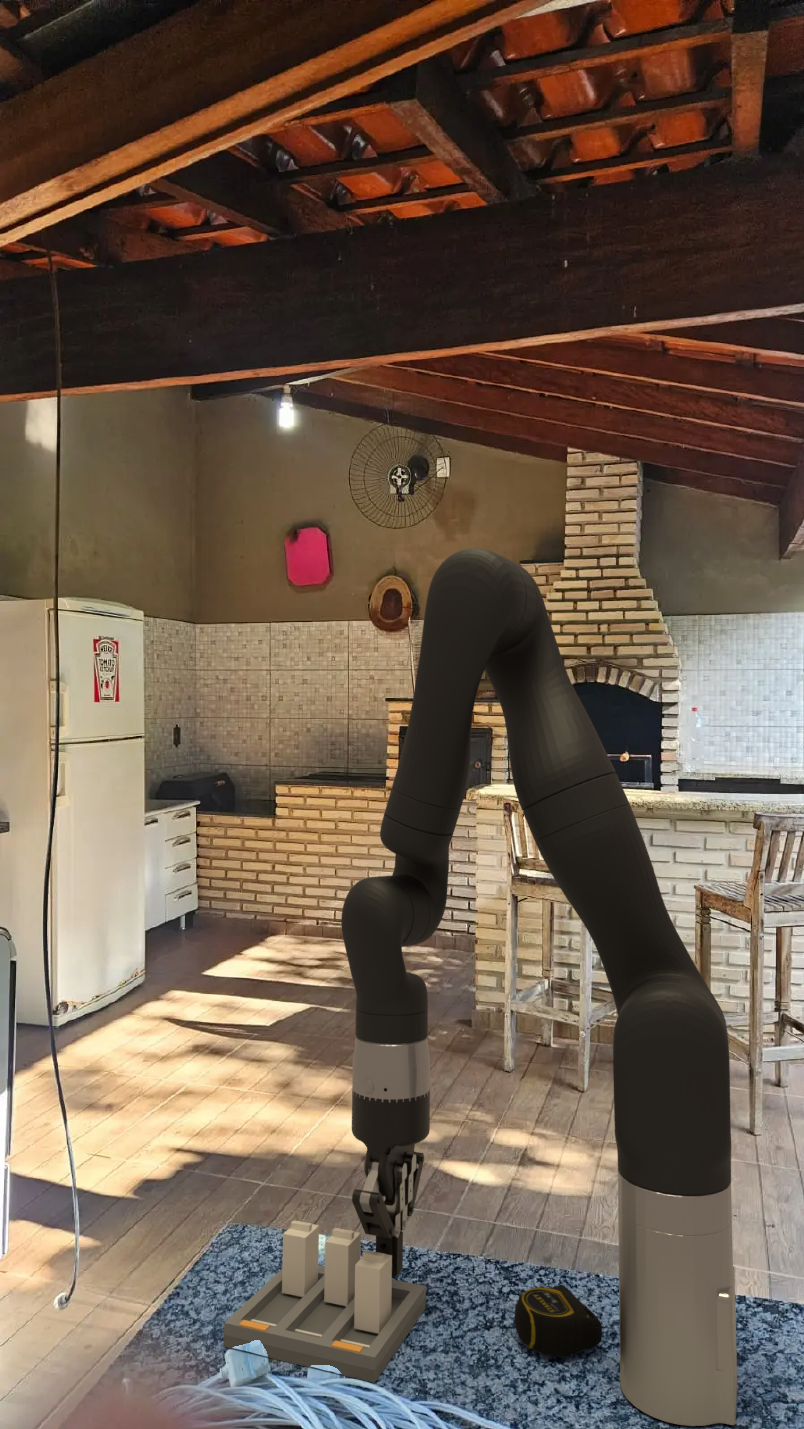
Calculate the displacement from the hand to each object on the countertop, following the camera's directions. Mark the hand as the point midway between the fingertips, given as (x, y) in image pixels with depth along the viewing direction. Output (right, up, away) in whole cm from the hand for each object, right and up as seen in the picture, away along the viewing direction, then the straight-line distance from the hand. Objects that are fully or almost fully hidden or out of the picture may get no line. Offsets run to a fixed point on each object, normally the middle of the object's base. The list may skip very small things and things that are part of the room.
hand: (389, 1273), depth 90 cm
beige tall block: (-1, -2, -4) cm, 5 cm away
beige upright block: (-4, -3, +1) cm, 5 cm away
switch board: (-6, -4, -2) cm, 7 cm away
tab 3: (-9, -3, +2) cm, 10 cm away
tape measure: (+15, -4, -4) cm, 16 cm away
